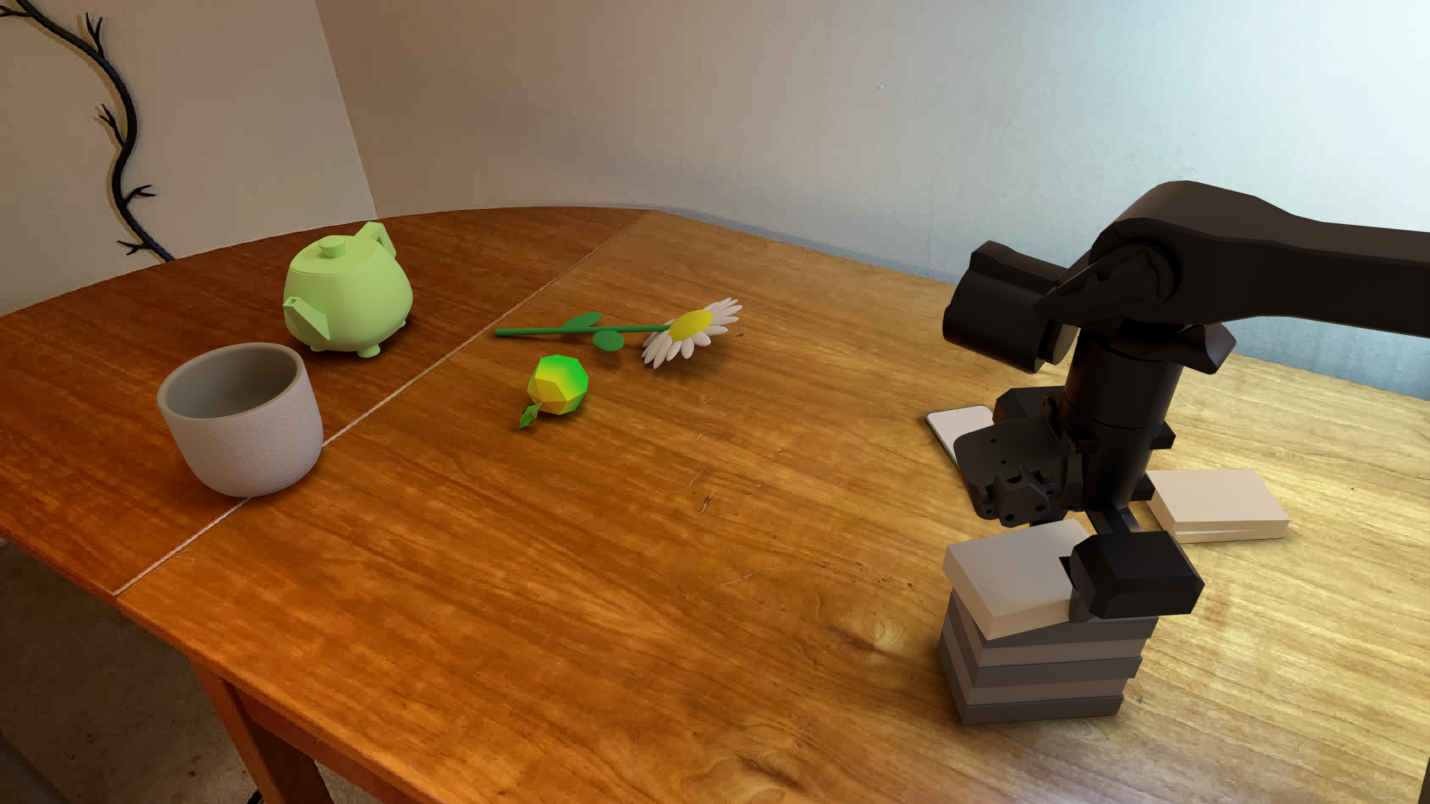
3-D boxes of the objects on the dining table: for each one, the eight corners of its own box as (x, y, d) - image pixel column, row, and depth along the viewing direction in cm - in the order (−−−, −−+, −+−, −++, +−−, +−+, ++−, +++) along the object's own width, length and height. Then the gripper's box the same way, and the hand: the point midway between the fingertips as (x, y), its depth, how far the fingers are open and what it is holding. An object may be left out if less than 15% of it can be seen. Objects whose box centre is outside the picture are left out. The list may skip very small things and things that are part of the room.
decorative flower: (482, 381, 105) (736, 378, 98) (471, 344, 102) (731, 339, 95) (522, 328, 115) (754, 322, 108) (512, 293, 112) (750, 285, 106)
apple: (566, 331, 95) (524, 377, 89) (610, 372, 97) (572, 421, 90) (533, 365, 100) (490, 412, 93) (576, 404, 101) (537, 453, 94)
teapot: (365, 390, 100) (335, 291, 92) (258, 375, 102) (220, 277, 95) (447, 298, 115) (427, 207, 108) (351, 288, 118) (325, 197, 110)
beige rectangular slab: (1285, 538, 81) (1295, 519, 80) (1170, 545, 80) (1178, 526, 79) (1241, 483, 87) (1250, 464, 85) (1134, 489, 86) (1141, 470, 85)
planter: (231, 532, 83) (188, 440, 76) (178, 470, 90) (134, 380, 83) (357, 467, 90) (327, 377, 83) (298, 413, 97) (267, 327, 90)
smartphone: (989, 511, 83) (924, 413, 95) (988, 515, 83) (923, 417, 95) (1059, 498, 84) (985, 403, 96) (1057, 503, 85) (985, 407, 96)
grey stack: (1118, 715, 67) (1161, 617, 60) (962, 725, 66) (988, 628, 60) (1081, 638, 72) (1117, 541, 66) (937, 647, 72) (958, 550, 65)
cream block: (1121, 608, 61) (1131, 584, 59) (987, 641, 59) (993, 617, 57) (1067, 540, 66) (1075, 517, 64) (941, 568, 64) (946, 544, 62)
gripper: (937, 320, 60) (909, 493, 70) (1035, 519, 45) (982, 704, 55) (1101, 312, 61) (1051, 485, 70) (1251, 506, 46) (1162, 692, 55)
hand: (1056, 579), depth 63 cm, fingers closed on cream block, 7 cm apart
